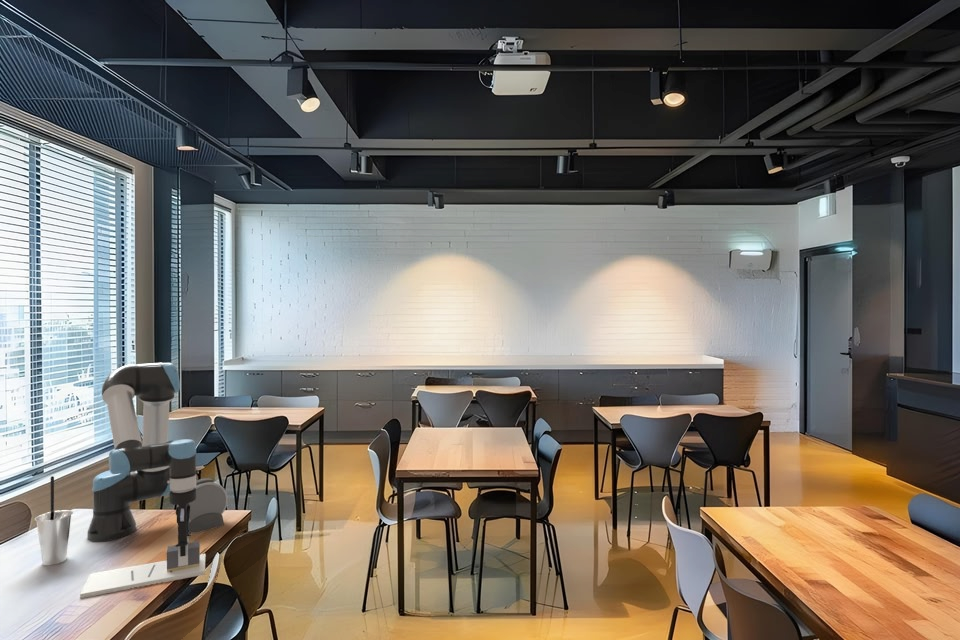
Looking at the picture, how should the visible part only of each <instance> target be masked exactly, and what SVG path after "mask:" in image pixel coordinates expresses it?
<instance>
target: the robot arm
mask: <svg viewBox="0 0 960 640" xmlns="http://www.w3.org/2000/svg"><path fill="white" fill-rule="evenodd" d="M180 389H181V383H180V376H179V373H178V370H177V367H176V365H175V364H174V363H172V362H153V363H152V362H151V363H138V364H137V363H135V364H133V363H132V364H131V363H130V364H126V365H125V364H124V365H123V366H120V367H118V368H116V369H115V370H113V371H112V372H111V373H110V374H109V375H108V376H107V378H106V379H105V381H104V382H103V384H102V389H101V397H102V401H103V402H104V403H105V404H107V405H106V406H107V411H108V417H109V421H110V422H109V423H110V429H111V435H112V442H113V446H114V450H111V451H109V453H108V469H109V470H106V471H104V472H101V473H99V474H97V475H96V476H95V477H94V478H93V480H92V481H93V482H92V488H91V491H92V517H91V521H90V523H89V526H88V530H87V534H86V535H87V540H88V541H92V542H103V541H104V542H105V541H112V540H116V539H120V538H124V537H127V536H129V535H131V534H133V533H134V532H135V531H136V530H137V522H136V520H135V517H134V515H133V512H132V510H131V503H134V502H140V501H144V500H149V499H150V500H151V499H154V498H161V497H165V496H168V495H169V504H171V505H176V508H175V516H176V524H177V544H175V545H176V547H178V567H179V566H185V565H188V543H190V539H189V538H190V537H191V536H192V533H188V532H189V517H190V505H189V503H191V502H193V501H195V500H196V488H195V487H196V481H197V448H196V447H197V446H196V441H195V440H193V439H188V438H187V439H186V438H184V439H172V440H171V439H170V440H169V428H170V427H169V426H170V425H169V424H170V402H171V401H172V400H174V399H175V394H176V393H179V392H180ZM136 396H138V400H139V401H140V402H142V403H143V407H142V409H143V412H142V414H143V415H142V437H141V431H140V428H139V422H138V420H137V419H138V418H137V414H136V409H135V403H134V397H136Z"/></svg>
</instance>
